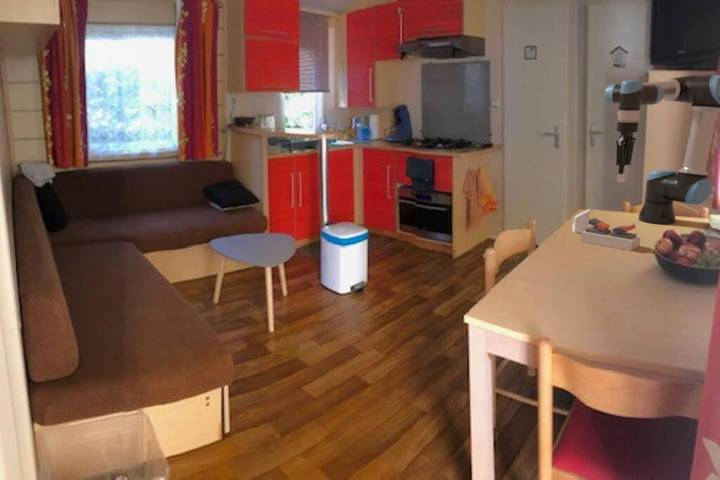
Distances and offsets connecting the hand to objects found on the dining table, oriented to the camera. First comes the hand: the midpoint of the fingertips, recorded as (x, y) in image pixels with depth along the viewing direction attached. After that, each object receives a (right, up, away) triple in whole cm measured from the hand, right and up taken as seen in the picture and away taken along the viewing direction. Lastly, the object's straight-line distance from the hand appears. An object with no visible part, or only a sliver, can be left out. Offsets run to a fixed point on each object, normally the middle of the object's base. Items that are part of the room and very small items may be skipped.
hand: (621, 181), depth 240 cm
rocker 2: (0, -20, -3) cm, 20 cm away
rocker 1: (-8, -18, +5) cm, 20 cm away
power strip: (-4, -25, +3) cm, 25 cm away
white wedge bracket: (-9, -20, +21) cm, 30 cm away
